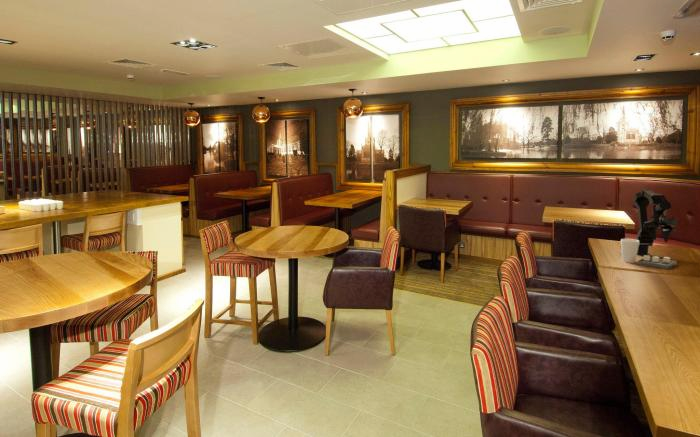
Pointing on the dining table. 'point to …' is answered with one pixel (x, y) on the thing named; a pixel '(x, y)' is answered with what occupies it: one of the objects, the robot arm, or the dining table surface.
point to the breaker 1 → (646, 257)
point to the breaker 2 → (666, 259)
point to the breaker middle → (655, 259)
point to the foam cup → (629, 250)
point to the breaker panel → (657, 263)
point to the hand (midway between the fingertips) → (660, 240)
